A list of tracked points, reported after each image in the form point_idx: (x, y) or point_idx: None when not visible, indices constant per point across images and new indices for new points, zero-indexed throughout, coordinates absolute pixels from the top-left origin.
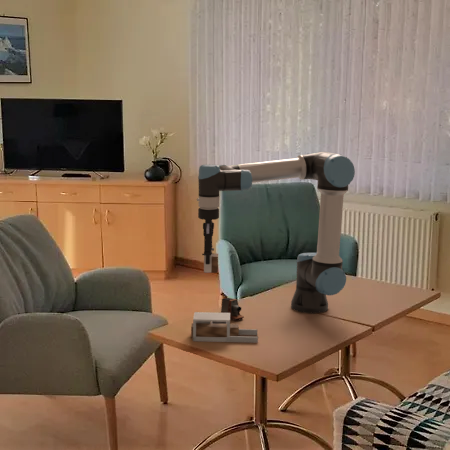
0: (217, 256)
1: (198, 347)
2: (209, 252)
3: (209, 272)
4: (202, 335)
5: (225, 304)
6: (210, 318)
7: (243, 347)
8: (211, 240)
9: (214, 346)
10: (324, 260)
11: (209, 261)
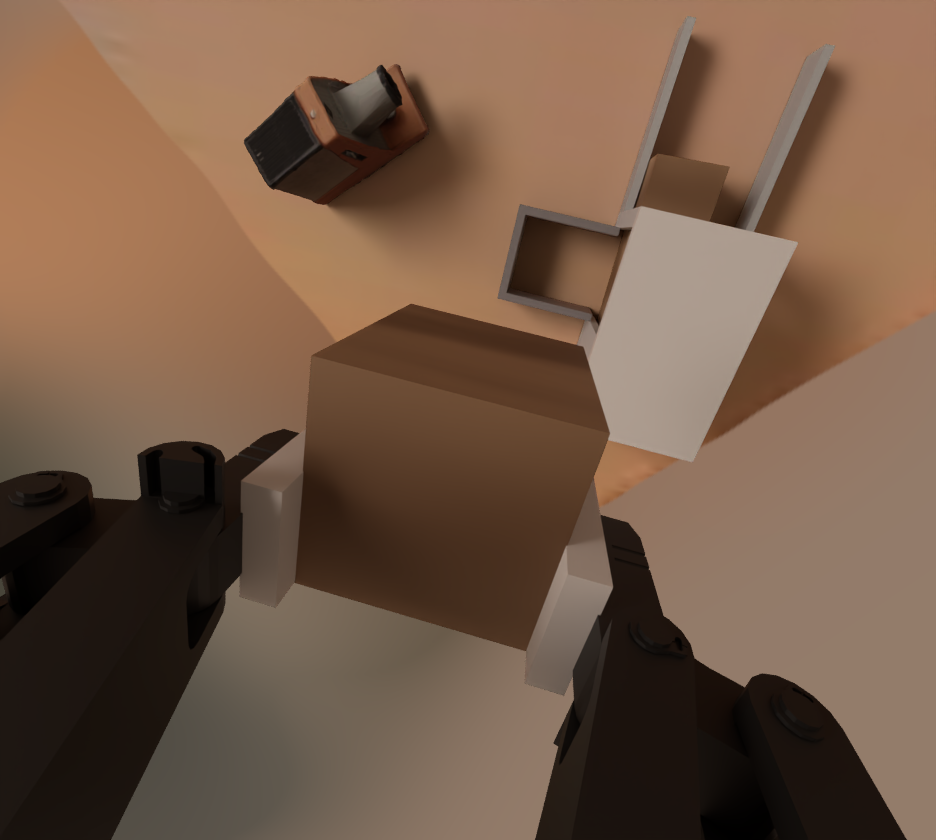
0: (570, 433)
1: (751, 407)
2: (826, 778)
3: None
4: None
5: (315, 173)
6: (713, 364)
7: (851, 175)
8: (53, 777)
9: (769, 332)
10: None
11: (642, 556)
